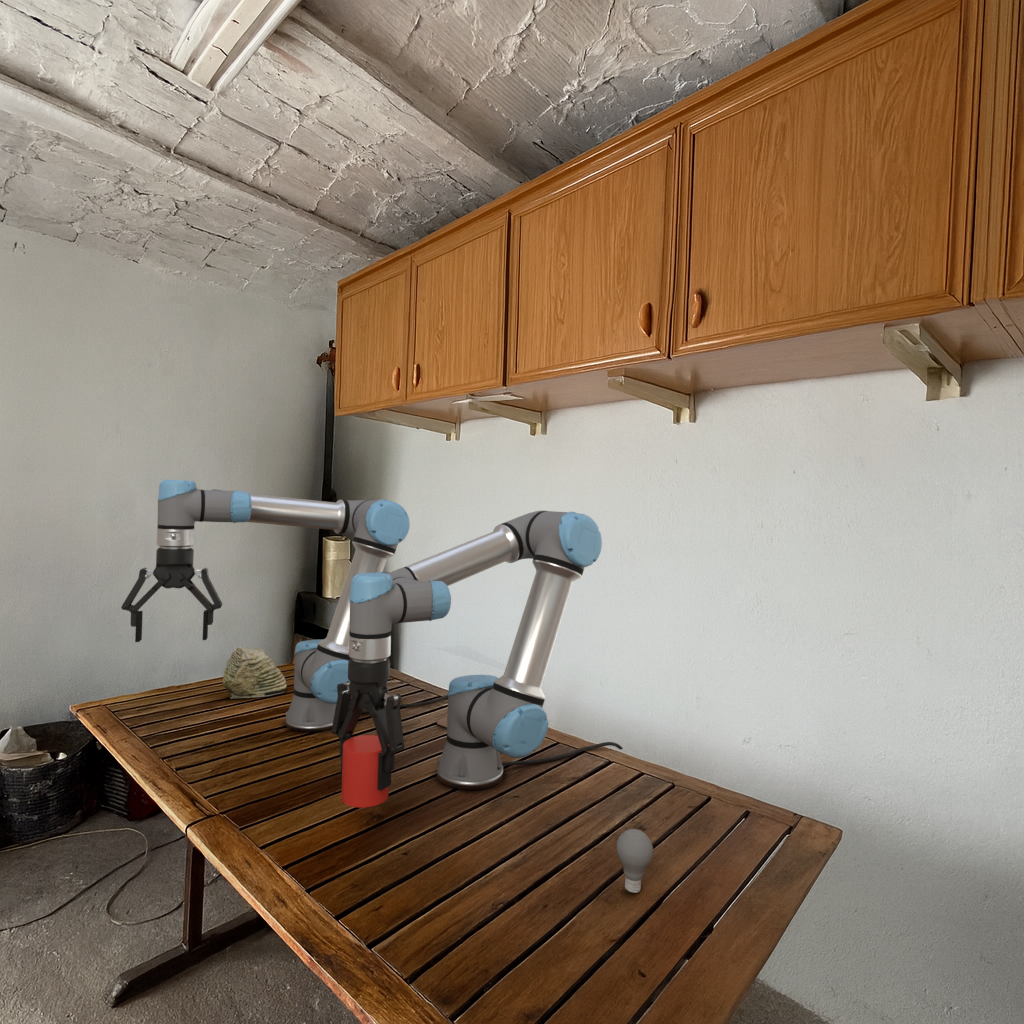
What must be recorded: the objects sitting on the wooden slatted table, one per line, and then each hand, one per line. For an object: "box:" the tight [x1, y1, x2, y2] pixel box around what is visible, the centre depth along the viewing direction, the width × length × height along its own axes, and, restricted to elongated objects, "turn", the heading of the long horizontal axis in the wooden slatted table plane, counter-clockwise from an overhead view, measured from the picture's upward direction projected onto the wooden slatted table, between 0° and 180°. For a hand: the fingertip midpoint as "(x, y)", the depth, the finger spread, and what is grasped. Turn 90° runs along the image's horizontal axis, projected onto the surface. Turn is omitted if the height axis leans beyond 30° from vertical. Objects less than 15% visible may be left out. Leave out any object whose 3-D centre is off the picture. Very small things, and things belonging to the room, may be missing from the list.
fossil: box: [222, 646, 288, 699], centre depth 198 cm, size 9×18×15 cm, turn 132°
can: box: [340, 734, 390, 809], centre depth 116 cm, size 8×8×10 cm
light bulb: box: [615, 828, 654, 894], centre depth 106 cm, size 6×6×10 cm
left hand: (172, 640), depth 145 cm, fingers open, 13 cm apart
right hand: (365, 780), depth 116 cm, fingers closed on can, 8 cm apart
